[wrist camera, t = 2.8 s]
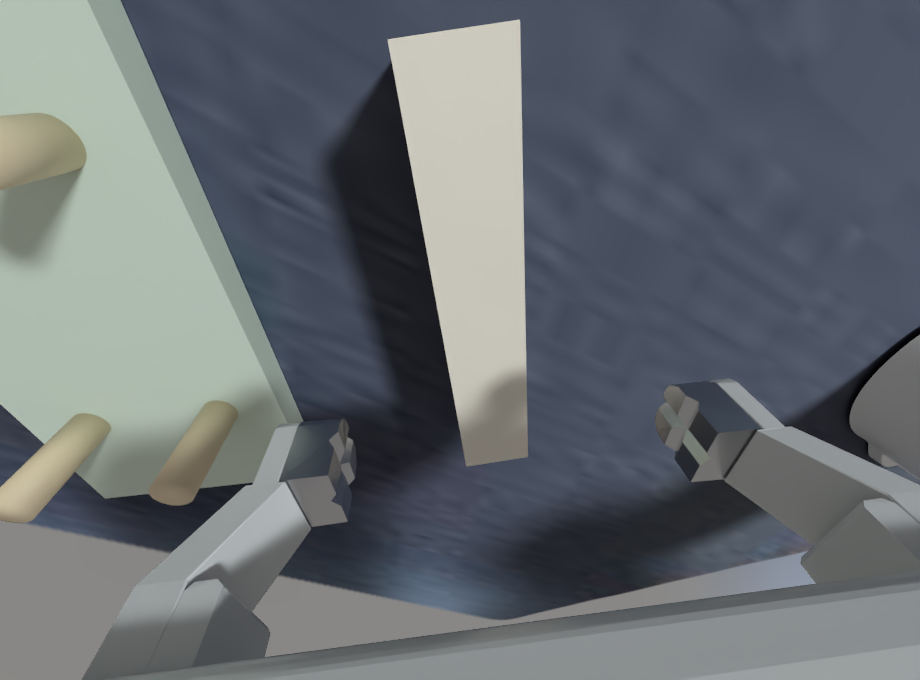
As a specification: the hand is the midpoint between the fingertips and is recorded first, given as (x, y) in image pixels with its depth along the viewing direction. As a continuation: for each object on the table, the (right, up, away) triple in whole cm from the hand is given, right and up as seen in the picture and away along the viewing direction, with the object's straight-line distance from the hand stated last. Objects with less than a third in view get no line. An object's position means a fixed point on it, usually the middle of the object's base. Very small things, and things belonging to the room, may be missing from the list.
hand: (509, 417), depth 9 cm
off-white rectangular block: (-1, +5, +8) cm, 9 cm away
